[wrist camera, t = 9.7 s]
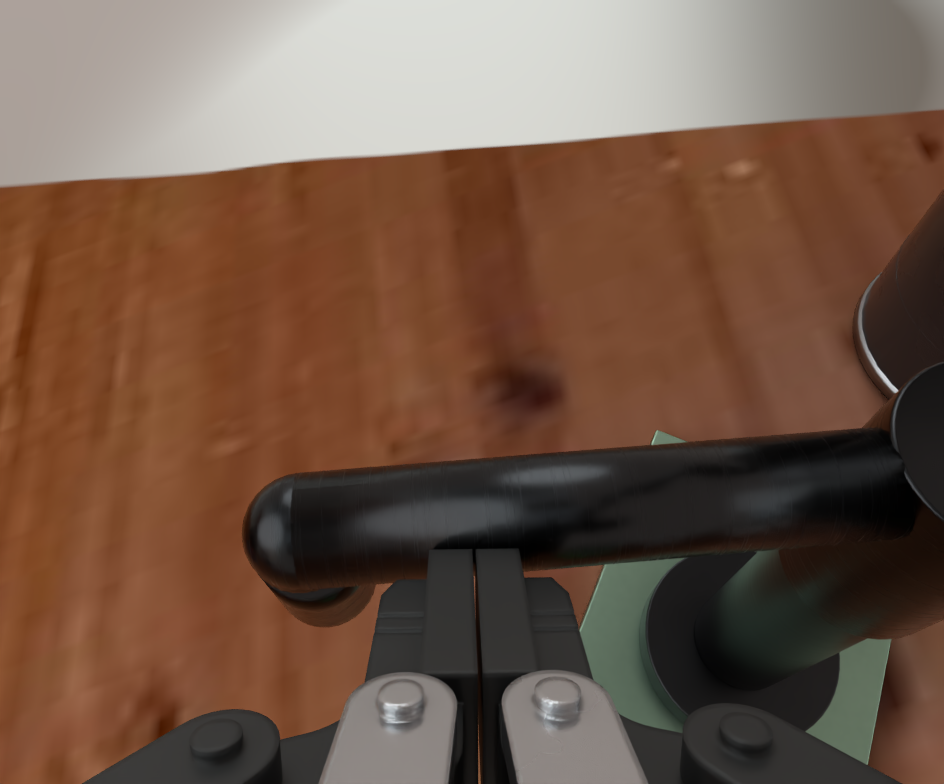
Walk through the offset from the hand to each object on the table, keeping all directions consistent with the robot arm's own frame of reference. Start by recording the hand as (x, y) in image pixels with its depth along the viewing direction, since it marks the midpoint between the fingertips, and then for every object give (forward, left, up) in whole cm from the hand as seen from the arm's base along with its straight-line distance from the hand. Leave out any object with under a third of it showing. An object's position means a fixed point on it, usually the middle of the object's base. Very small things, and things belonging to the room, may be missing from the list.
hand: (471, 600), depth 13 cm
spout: (-3, +2, -5) cm, 6 cm away
